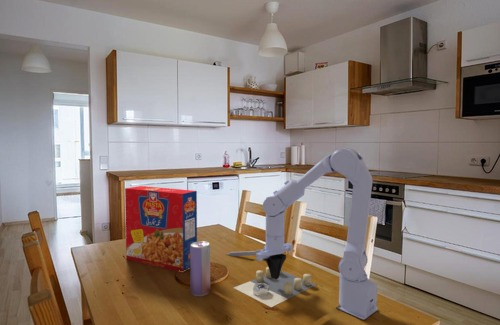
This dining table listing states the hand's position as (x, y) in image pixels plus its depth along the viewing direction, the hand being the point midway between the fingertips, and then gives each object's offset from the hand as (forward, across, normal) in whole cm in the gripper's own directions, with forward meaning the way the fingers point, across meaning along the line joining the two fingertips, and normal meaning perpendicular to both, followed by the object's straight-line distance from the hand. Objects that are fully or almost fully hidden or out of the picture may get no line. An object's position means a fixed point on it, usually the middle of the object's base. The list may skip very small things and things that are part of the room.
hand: (274, 277), depth 100 cm
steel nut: (+3, +6, 0) cm, 7 cm away
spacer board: (+4, 0, 0) cm, 4 cm away
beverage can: (+4, +18, -14) cm, 23 cm away
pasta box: (+4, +15, -45) cm, 48 cm away
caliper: (+4, -13, -25) cm, 29 cm away
